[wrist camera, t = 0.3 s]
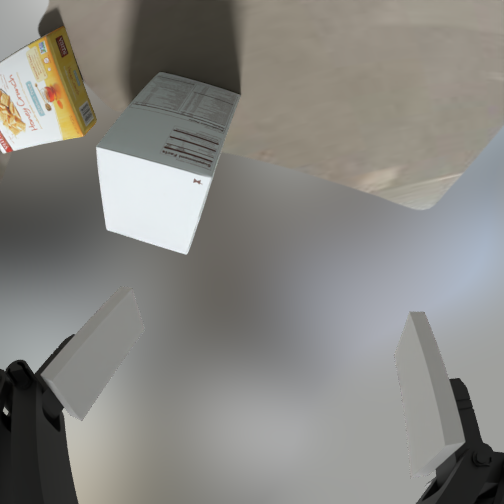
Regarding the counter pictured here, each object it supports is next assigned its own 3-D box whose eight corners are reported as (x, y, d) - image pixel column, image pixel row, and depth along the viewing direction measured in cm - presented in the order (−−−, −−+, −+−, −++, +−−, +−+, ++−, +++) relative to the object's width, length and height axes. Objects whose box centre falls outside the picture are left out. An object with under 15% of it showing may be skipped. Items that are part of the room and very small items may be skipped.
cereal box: (85, 137, 39) (1, 157, 43) (100, 119, 42) (15, 141, 46) (43, 34, 22) (-36, 89, 26) (66, 22, 25) (-18, 74, 29)
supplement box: (157, 69, 34) (92, 143, 25) (243, 93, 37) (214, 177, 28) (145, 151, 48) (103, 231, 39) (213, 171, 51) (187, 257, 42)
